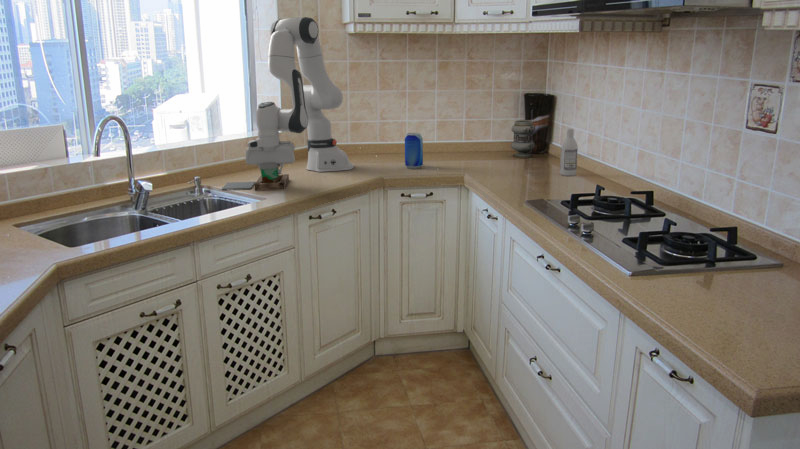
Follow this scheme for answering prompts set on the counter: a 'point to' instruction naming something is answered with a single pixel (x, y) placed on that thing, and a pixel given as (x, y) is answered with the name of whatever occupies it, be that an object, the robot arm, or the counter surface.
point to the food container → (270, 173)
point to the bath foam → (568, 155)
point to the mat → (238, 185)
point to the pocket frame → (272, 186)
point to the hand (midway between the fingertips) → (271, 174)
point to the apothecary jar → (523, 138)
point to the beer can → (413, 150)
